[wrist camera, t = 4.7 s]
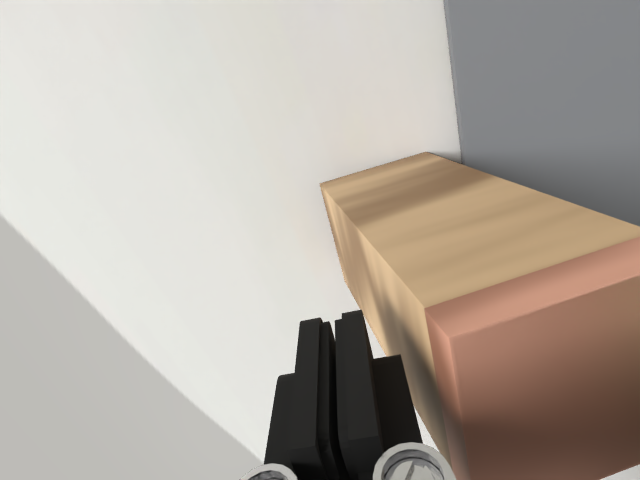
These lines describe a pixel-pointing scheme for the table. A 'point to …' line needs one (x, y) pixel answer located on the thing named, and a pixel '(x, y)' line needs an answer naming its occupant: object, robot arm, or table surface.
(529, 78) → the rubber mat
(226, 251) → the table surface
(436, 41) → the table surface
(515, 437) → the oak block
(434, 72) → the table surface
